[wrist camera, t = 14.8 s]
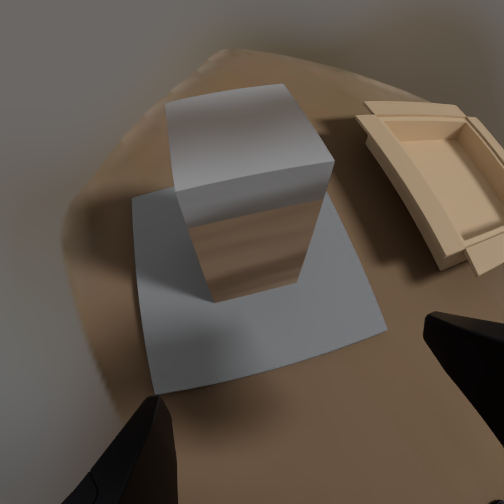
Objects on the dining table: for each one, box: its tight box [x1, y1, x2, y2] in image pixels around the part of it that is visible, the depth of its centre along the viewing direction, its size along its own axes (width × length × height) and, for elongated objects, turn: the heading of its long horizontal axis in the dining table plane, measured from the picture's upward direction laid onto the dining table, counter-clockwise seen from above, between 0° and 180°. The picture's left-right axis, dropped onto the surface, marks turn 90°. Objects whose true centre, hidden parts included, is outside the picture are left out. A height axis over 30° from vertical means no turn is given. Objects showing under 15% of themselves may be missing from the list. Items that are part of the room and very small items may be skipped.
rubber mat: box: [132, 187, 388, 395], centre depth 19 cm, size 14×14×1 cm
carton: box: [355, 101, 504, 277], centre depth 21 cm, size 17×17×4 cm
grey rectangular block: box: [165, 84, 335, 303], centre depth 14 cm, size 5×5×10 cm
